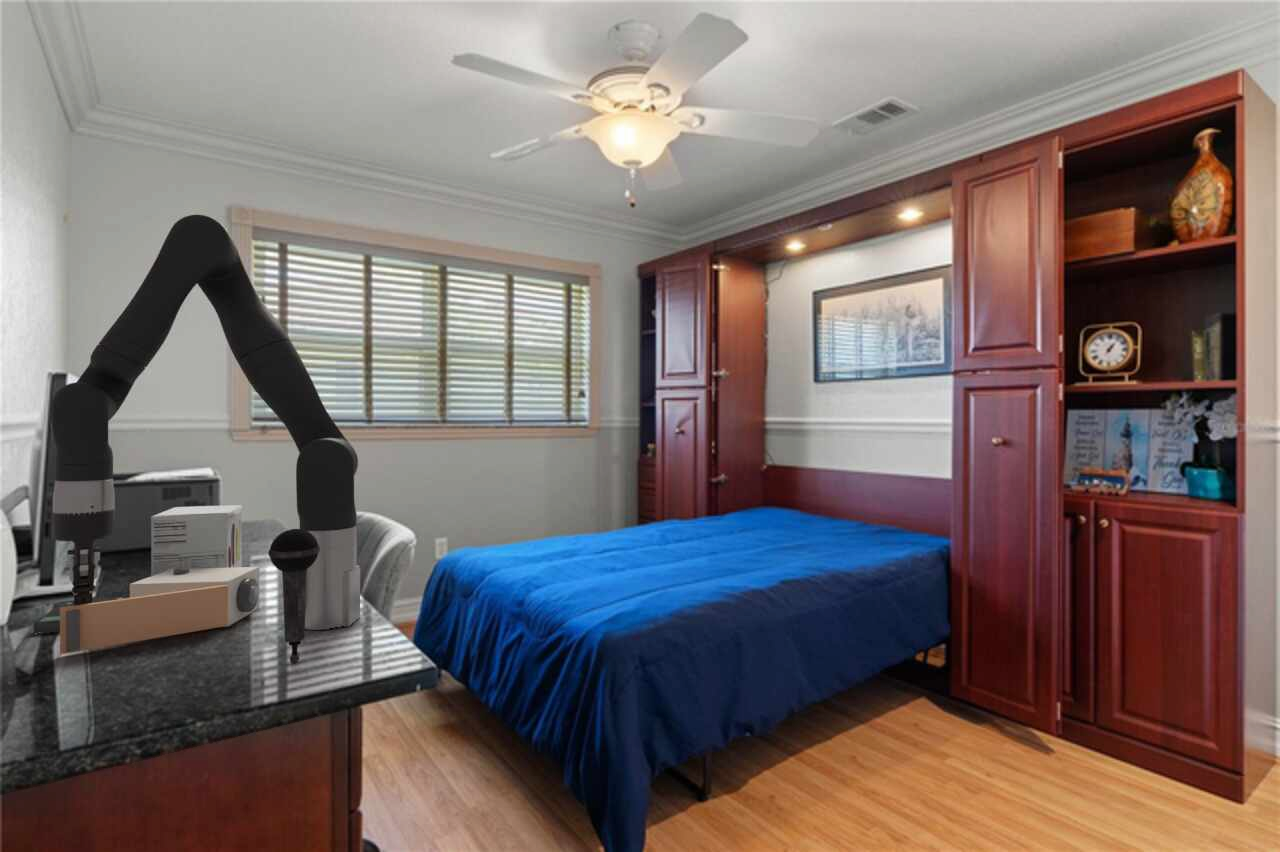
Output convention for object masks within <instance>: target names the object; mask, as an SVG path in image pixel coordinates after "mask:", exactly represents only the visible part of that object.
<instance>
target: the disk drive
mask: <svg viewBox="0 0 1280 852" xmlns="http://www.w3.org/2000/svg"><path fill="white" fill-rule="evenodd" d="M125 598H130V595H126V596H123V595H122V596H117V597H116V596H115V597H103V598H92V603H96V602H103V601H111V600H118V599H125ZM67 606H74V600H68V601H65V602H61V603H60V605H58V606H56V607H55V608H54V609H52V610H50V611H49V612H47V613H46V614H44V615H43V616H41V617H40V618H39V617H38V619H37V620H35V621H33V634H34V633H39V632H40V633H41V632H42V633H43V632H55V633H60V607H67Z"/></svg>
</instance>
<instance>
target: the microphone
mask: <svg viewBox="0 0 1280 852" xmlns="http://www.w3.org/2000/svg"><path fill="white" fill-rule="evenodd" d="M319 551H320V547H319V546H318V542H317V540H316V538H315V537H314V536H313V535H312V534H311V533H309V532H308V531H305V530H302V529H300V528H292V529H287V530H285V531H283V532H281V533H279V534H278V535H277V536H276V537H275V538H274V539H273V541H272V542H271V544H270V547H269V550H268V553H267V554H268V556H269V558H270V561H271V563H272V565H273V566H274V567H275V568H276V569H277V570H279V571H280V572H281V574H282V601H283V603H282V604H283V625H284V630H283V631H284V642H286V643H288V646H291V655H290V657H289V661H290V663H293V664H296V663H298V662H299V660H300V654H298V645H300V644H301V643H302V641H303V640H305V630H306V629H305V606H306V576H307V569H308V568H309V567H310V566H311V565H312V564H313V563H314V562H315V560H316V558H317V556H318V552H319Z"/></svg>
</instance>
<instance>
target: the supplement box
mask: <svg viewBox="0 0 1280 852" xmlns="http://www.w3.org/2000/svg"><path fill="white" fill-rule="evenodd" d="M242 512H243V505H242V504H229V505H196V506H195V505H193V506H175V507H174V506H173V507H171V508H169V509H166V510H165V511H162V512H159V513H157V514H154V515H151V517H150V523H151V524H150V529H151V530H150V539H151V540H150V542H151V543H150V546H151V547H150V550H151V551H150V553H151V555H150V556H151V557H150V558H151V559H150V560H151V562H150V563H151V566H150V567H151V572H150V573H151V576H154V575H156V574H159V573H162V572H165V571H167V570H170V569H177V568H189V569H196V568H235V567H243V566H242V565H243V563H242V562H243V561H242V558H243V557H242V555H243V553H242V551H243V550H242V549H243V548H242V545H243V543H242V542H243V541H242V540H243V538H242V537H243V535H242V534H243V533H242V532H243V531H242V529H243V528H242V527H243V526H242V525H243V524H242V521H243V518H242V517H243V516H242V515H243V513H242ZM151 576H150V577H151Z"/></svg>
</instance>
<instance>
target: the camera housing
mask: <svg viewBox="0 0 1280 852" xmlns="http://www.w3.org/2000/svg"><path fill="white" fill-rule="evenodd" d="M220 585H228V626H223V627H222V628H226V627H227V628H228V627H230V626H232V625H233V624H235V623H237V622H238V621H239V620H242V619H244V618H245V617H247V616H249V615H250V614H251V613H254V612H255V611H257V610H258V609H260V566H246V567H244V566H242V567H235V568H196V569H189V568H177V569H170V570H167V571H165V572H162V573H159V574H156V575H154V576H148V577H145V578H143V579H139V580H137V581H134V582H131V583H130V584H129V596H130V598H133V597H140V596H147V595H155V594H162V593H169V592H177V591H184V590H191V589H199V588H206V587H213V586H220Z"/></svg>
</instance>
